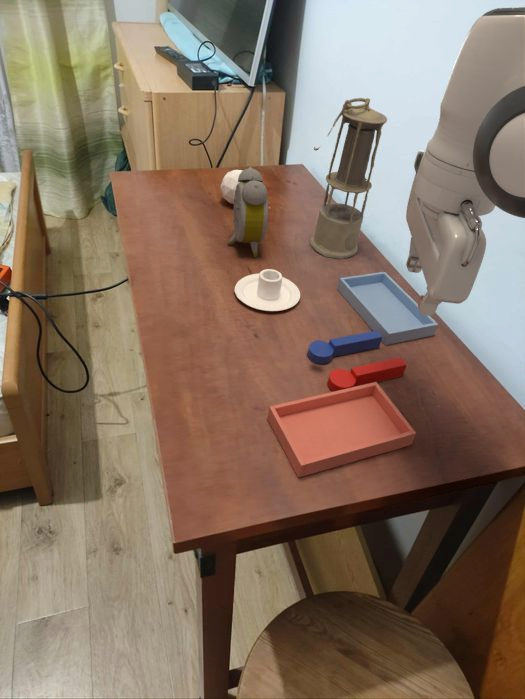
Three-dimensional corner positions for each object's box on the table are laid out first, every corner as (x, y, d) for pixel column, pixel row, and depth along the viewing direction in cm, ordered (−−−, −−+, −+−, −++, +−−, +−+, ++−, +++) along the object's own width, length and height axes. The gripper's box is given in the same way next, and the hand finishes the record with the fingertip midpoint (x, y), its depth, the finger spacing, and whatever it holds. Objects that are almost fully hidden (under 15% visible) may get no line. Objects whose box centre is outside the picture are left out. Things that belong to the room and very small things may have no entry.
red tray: (372, 393, 76) (376, 381, 75) (411, 445, 70) (416, 433, 68) (267, 418, 70) (269, 406, 69) (298, 477, 64) (301, 465, 62)
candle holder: (223, 300, 91) (224, 280, 88) (251, 270, 99) (253, 250, 96) (285, 322, 88) (288, 301, 85) (308, 289, 96) (312, 269, 94)
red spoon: (392, 363, 82) (396, 352, 81) (406, 380, 80) (411, 369, 78) (322, 379, 78) (325, 367, 76) (335, 397, 75) (338, 385, 73)
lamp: (362, 259, 107) (402, 108, 88) (301, 257, 105) (329, 102, 86) (351, 235, 115) (386, 91, 95) (294, 232, 113) (318, 85, 93)
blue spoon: (370, 337, 87) (373, 326, 85) (382, 352, 84) (386, 341, 83) (303, 350, 82) (305, 338, 81) (314, 366, 80) (316, 354, 78)
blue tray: (433, 335, 89) (438, 324, 88) (385, 345, 86) (389, 333, 84) (381, 282, 101) (384, 271, 99) (336, 289, 97) (339, 277, 96)
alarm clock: (263, 260, 103) (272, 188, 93) (230, 259, 101) (235, 187, 92) (255, 232, 111) (262, 163, 102) (224, 231, 110) (228, 162, 100)
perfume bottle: (216, 195, 115) (209, 180, 124) (243, 216, 119) (235, 200, 128) (237, 167, 112) (229, 154, 122) (265, 190, 116) (255, 175, 126)
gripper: (517, 233, 47) (461, 346, 56) (465, 154, 62) (428, 252, 71) (449, 223, 47) (405, 338, 56) (415, 146, 62) (384, 246, 71)
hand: (418, 289), depth 64 cm, fingers open, 8 cm apart
